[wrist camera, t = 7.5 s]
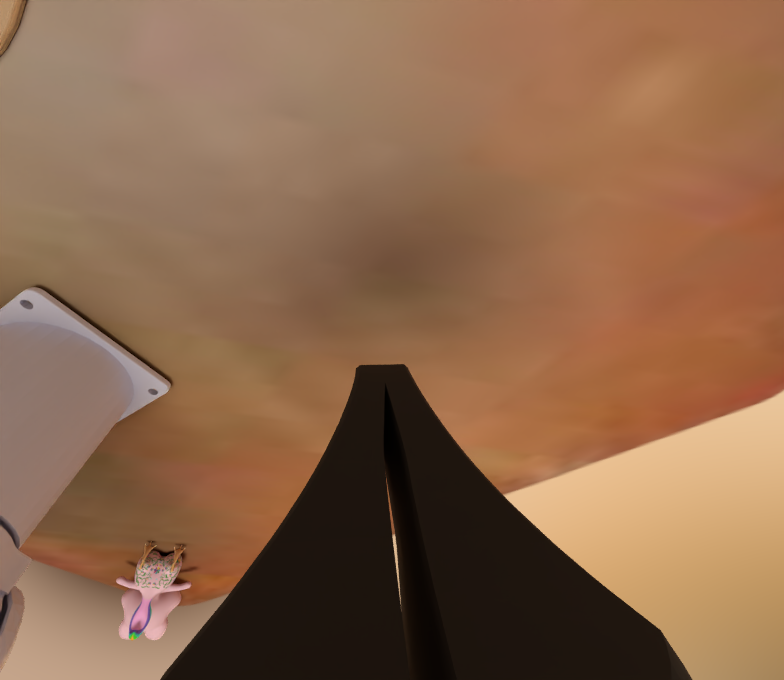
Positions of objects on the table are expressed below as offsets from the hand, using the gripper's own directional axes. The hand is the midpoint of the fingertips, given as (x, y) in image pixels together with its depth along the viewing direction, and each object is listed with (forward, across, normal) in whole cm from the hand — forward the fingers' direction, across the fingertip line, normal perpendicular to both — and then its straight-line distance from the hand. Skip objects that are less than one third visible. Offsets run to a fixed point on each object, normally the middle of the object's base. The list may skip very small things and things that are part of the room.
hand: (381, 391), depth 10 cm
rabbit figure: (+10, +21, +33) cm, 41 cm away
